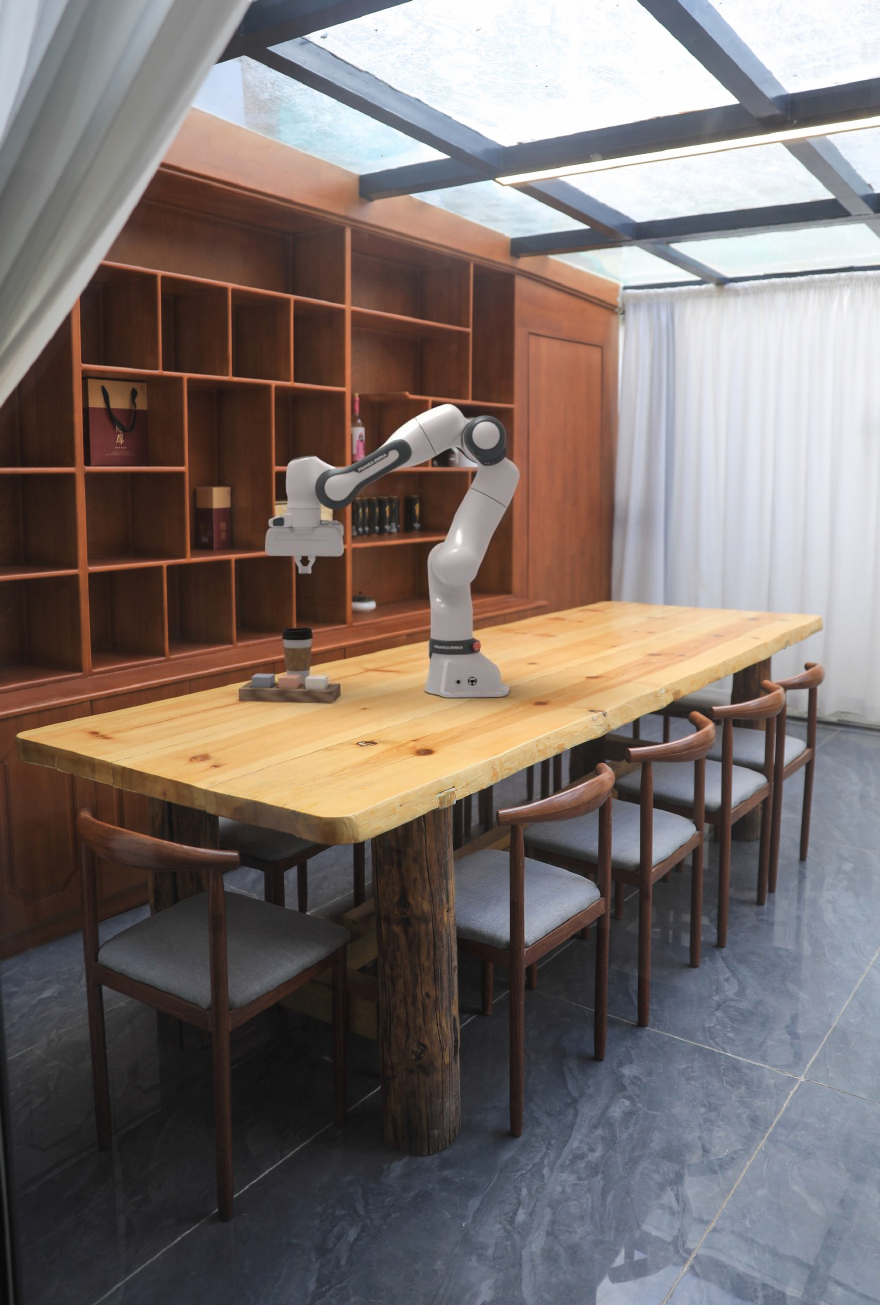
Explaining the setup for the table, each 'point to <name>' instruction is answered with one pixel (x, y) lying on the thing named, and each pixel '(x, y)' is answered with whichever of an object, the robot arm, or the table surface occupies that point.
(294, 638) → the coffee cup
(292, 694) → the tray
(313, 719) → the table surface
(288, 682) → the terracotta key
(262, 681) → the slate key
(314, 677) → the ivory key
